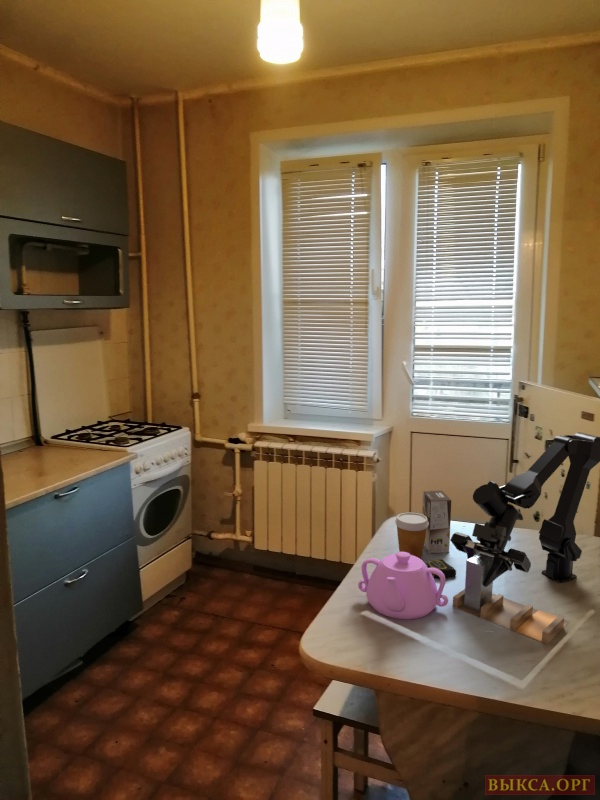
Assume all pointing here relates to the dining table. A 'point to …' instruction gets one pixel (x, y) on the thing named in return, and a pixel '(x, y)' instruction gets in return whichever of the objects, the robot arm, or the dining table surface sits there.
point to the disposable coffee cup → (411, 533)
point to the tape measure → (442, 568)
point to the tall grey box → (477, 582)
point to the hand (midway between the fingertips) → (476, 583)
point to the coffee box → (437, 521)
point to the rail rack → (516, 617)
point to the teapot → (402, 586)
